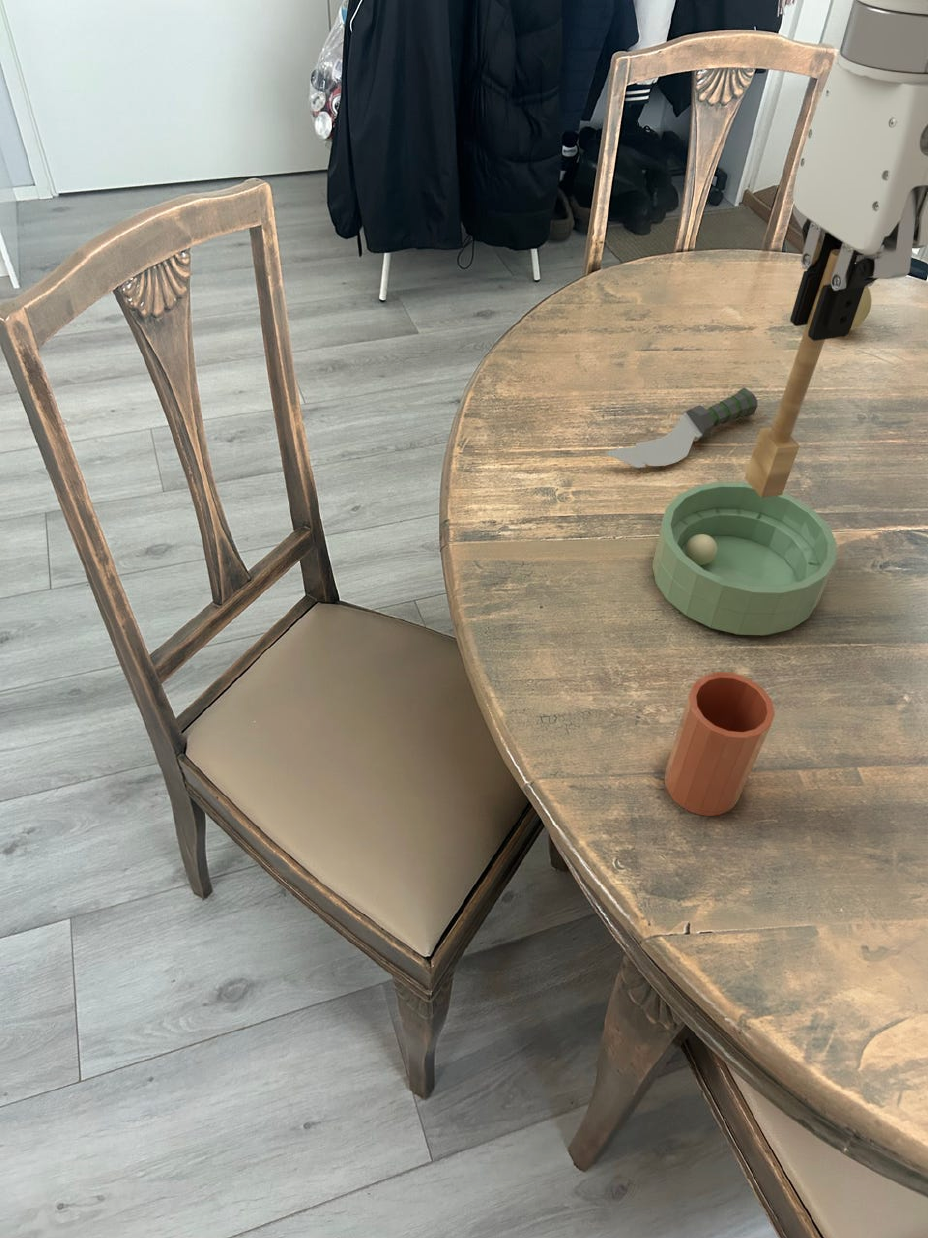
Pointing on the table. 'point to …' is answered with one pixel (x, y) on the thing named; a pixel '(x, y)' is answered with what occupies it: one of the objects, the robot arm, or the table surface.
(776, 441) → the wooden masher
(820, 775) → the table surface
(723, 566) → the bowl
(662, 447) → the knife
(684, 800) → the utensil cup
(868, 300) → the potato
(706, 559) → the bead
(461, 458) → the table surface
